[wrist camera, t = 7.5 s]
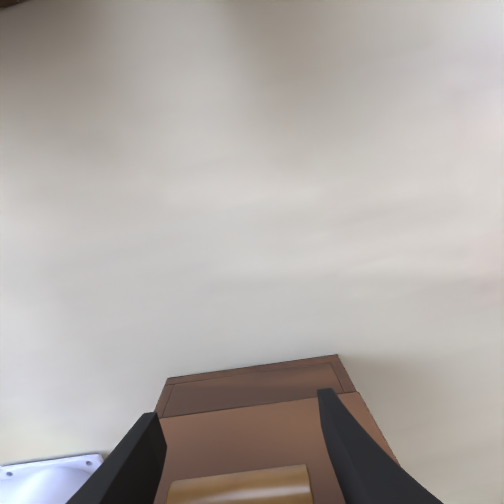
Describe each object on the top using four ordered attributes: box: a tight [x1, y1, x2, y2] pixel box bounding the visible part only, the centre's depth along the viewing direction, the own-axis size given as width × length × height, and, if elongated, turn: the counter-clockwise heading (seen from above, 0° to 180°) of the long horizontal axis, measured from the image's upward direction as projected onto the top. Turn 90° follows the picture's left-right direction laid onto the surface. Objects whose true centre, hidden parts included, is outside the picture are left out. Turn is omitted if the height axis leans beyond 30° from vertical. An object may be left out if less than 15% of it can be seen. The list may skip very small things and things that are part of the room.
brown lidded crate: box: [154, 355, 357, 419], centre depth 20 cm, size 11×14×4 cm
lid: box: [153, 392, 401, 504], centre depth 11 cm, size 11×14×4 cm
